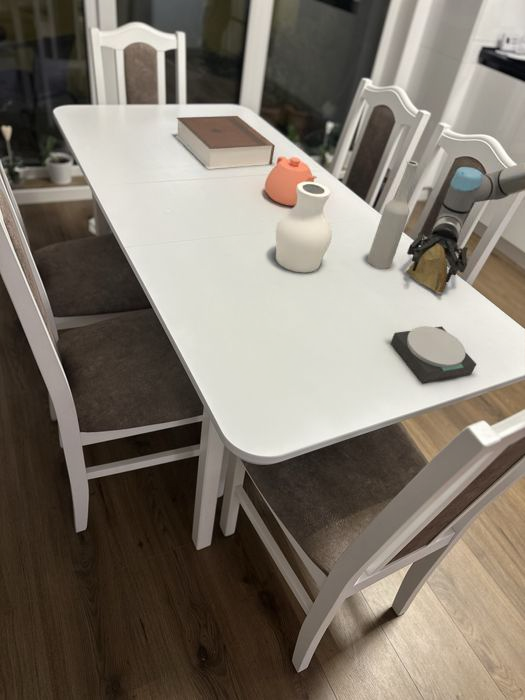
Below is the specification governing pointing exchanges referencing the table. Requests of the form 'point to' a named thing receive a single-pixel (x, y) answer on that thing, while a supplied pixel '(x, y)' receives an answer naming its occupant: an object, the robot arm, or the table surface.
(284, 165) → the teapot
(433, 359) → the scale
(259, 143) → the book
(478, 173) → the robot arm
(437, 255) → the rock
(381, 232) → the bottle
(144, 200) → the table surface
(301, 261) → the vase
